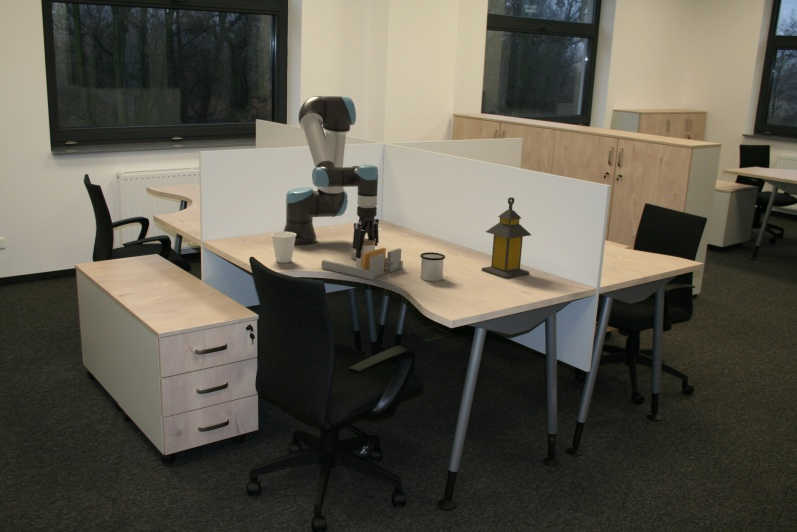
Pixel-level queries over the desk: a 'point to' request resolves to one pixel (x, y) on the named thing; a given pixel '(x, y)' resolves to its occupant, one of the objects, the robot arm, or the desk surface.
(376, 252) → the pusher
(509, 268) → the lantern
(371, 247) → the jar
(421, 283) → the desk surface
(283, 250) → the cup
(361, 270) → the lane
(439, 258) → the mug
